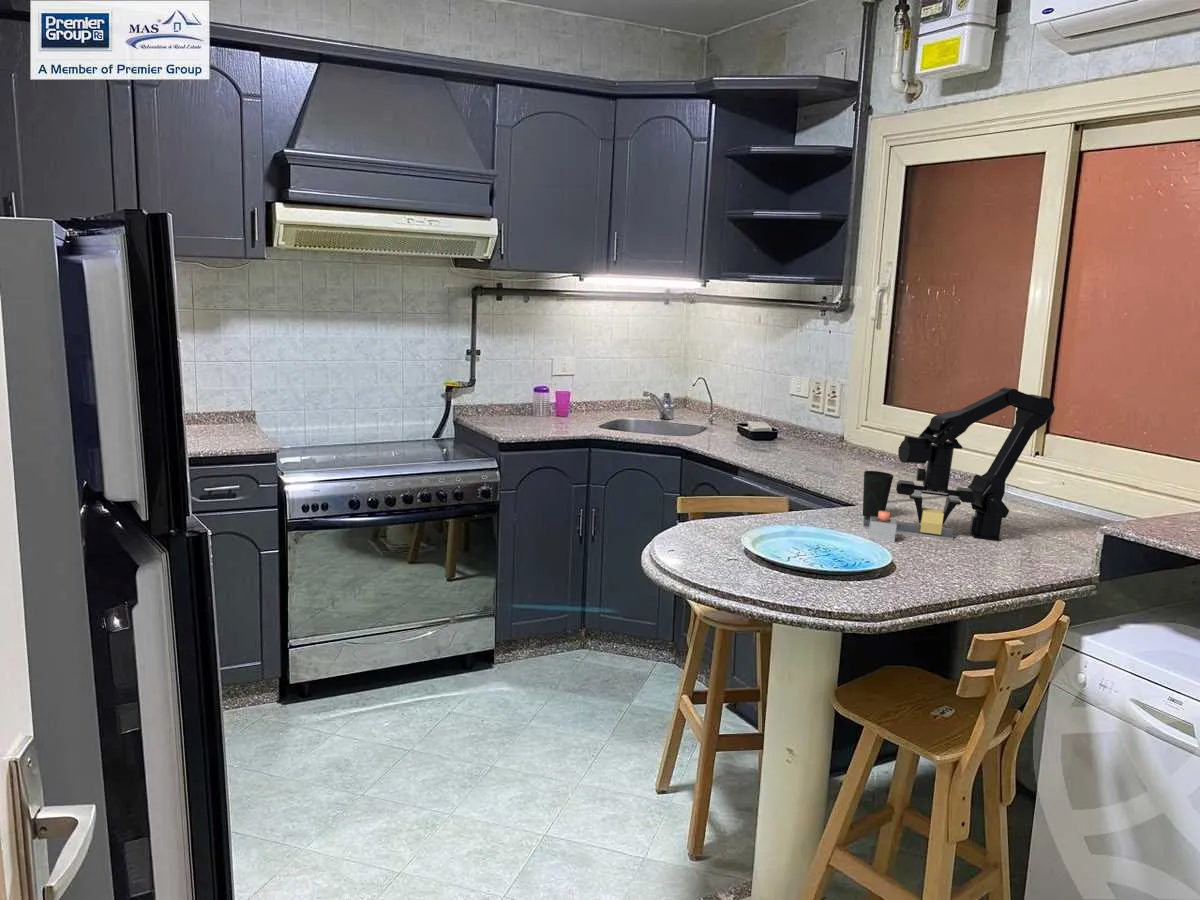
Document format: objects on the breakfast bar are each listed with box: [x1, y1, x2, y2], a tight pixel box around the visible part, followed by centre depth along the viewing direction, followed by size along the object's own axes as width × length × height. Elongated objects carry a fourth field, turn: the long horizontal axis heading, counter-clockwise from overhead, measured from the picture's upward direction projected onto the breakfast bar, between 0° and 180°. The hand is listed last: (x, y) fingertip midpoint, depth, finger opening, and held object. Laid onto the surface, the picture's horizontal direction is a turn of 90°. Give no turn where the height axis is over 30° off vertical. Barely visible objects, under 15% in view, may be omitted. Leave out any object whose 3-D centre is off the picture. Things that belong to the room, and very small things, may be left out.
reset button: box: [878, 510, 891, 521], centre depth 233 cm, size 3×3×2 cm
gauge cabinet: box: [868, 516, 897, 543], centre depth 233 cm, size 6×6×4 cm
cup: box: [862, 470, 894, 518], centre depth 256 cm, size 8×8×12 cm
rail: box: [862, 516, 954, 541], centre depth 243 cm, size 22×6×2 cm, turn 76°
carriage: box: [918, 506, 944, 535], centre depth 241 cm, size 5×5×5 cm
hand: (930, 524), depth 241 cm, fingers closed on carriage, 5 cm apart
